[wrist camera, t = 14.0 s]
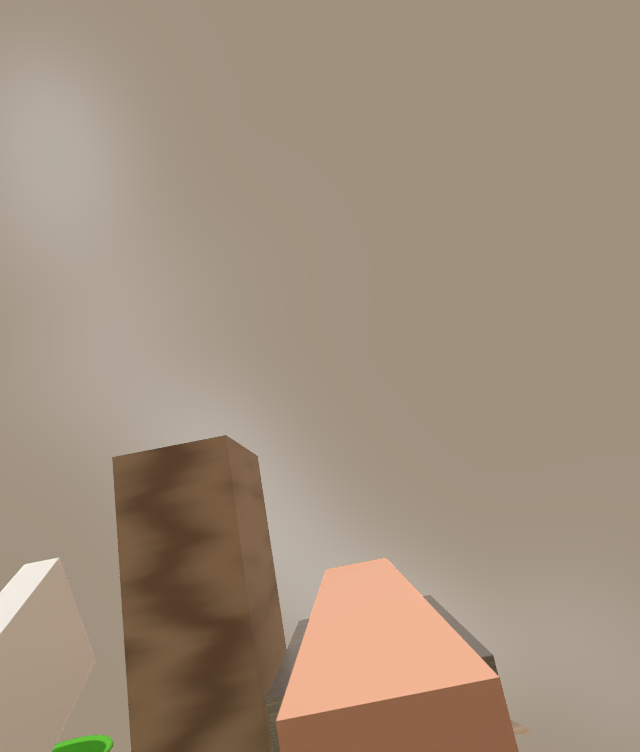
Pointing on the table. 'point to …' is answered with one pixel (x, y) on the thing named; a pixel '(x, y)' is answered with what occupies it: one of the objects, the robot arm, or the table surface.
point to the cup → (85, 744)
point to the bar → (388, 674)
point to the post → (197, 598)
